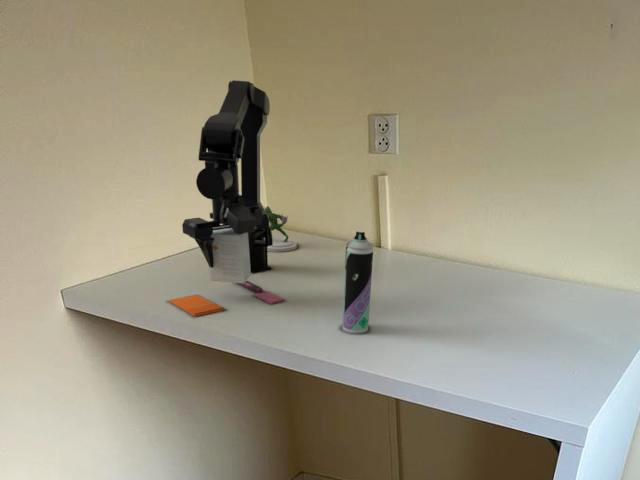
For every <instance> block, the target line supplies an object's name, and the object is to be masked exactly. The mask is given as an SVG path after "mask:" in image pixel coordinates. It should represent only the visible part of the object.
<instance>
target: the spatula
mask: <svg viewBox="0 0 640 480" xmlns="http://www.w3.org/2000/svg"><path fill="white" fill-rule="evenodd" d="M236 284H237V285H240V286H242V287H243V288H245V289H248V290H250V291H252V292H254V296H255V297H256V298H258V299H260V300H263V301H264V302H267V303H268V304H271V305H273V304H277V303H282V302H284V298H283V297H281V296H278V295H277V294H274V293H272V292H270V291H264V289H263V287H261V286H259V285H257V284H255V283H253V282H251V281H249V280H247V281H246V282H245V283H236Z"/></svg>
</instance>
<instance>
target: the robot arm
mask: <svg viewBox="0 0 640 480" xmlns="http://www.w3.org/2000/svg"><path fill="white" fill-rule="evenodd" d="M270 109H271V105H270V99H269V97H268V95H267V93H266V92H265V91H264V90H262V89H260V88H258V87H257V86H255V85H254V83H253V82H251V81H250V80H237V79H233V80H230V81H229V82H228V86H227V93H226V95H225V97H224V100H223V102H222V104H221V106H220V109H219V111H218V113H215V114H213V115H210V116H209V117H208V119H207V120H206V121H205V122H204V126H202V127H201V131H200V140H199V149H198V161H201V162H204V168H202V169H201V170H200V171H199V172H198V174H197V175H196V176H197V177H196V180H195V183H196V188H197V190H198V192H199V193H200V195H202V196H203V197H204V198H205V199H206V198H207V199H209V200H211V206H212V212H209V218H210V219H211V220H207V219H204V218H202V217H192V218H185V219H183V222H182V224H181V226H182V227H181V228H182V234H184V235H187V236H188V237H190V238H192V239H194V241H195V242H196V245H198V247H199V249H200V251H201V252H202V255H203V256H204V259H205V260H206V263H207V265H208V267H211V268H213V264H214V260H213V249H212V243H213V241H214V238H213V237H210V236H211V235H212V234H213V230H219V229H226V228H232V229H233V231H234V232H235V233H236V234H243V233H247V232H248V239H249V255H250V270H251V273H257V272H262V271H267V270H271V269H272V266H271V265H269V263H268V262H269V261H268V251H267V247H268V246H271V245H273V238H272V236H273V232H272V231H271V228H270V226H271V225H270V222H269V218H268V216H267V213H266V211H265V208H264V205H263V204H262V202H261V134H262V133H263V131H264V129H265V128H266V126H267V124H268V116H269V115H270ZM239 162H240V180H239V165H238V164H239ZM239 181H240V182H241V183H240V184H239ZM240 185H241V186H240ZM240 187H241V188H240ZM240 190H241V194H240ZM264 238H265V239H264Z"/></svg>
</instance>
